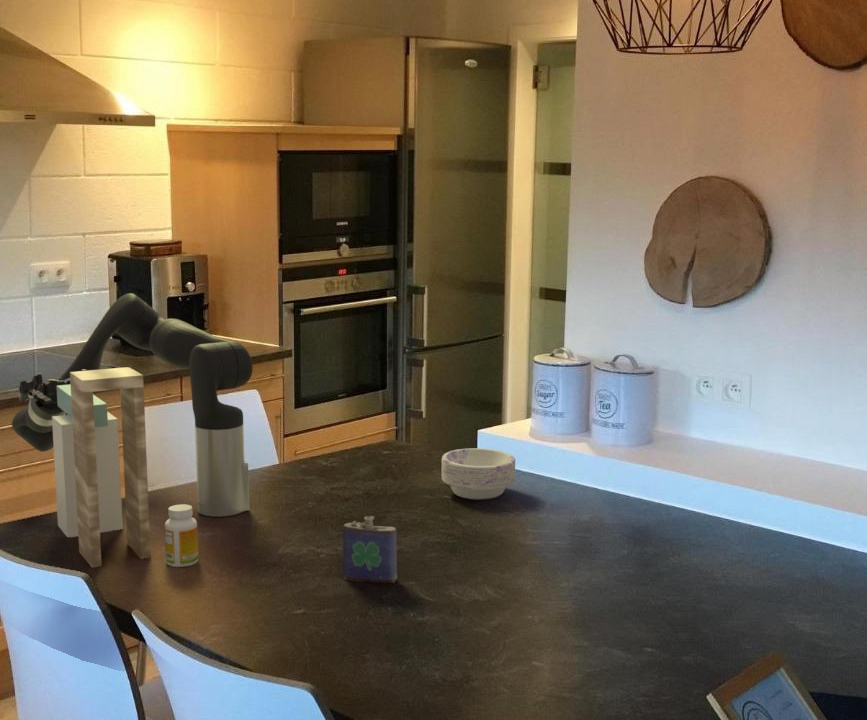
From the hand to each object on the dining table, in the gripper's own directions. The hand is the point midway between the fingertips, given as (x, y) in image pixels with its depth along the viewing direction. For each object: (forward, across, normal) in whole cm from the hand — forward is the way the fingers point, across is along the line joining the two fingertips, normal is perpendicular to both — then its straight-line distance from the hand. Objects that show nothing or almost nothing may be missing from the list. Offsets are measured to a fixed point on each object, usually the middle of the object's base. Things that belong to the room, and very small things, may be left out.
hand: (63, 375), depth 220 cm
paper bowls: (+16, +75, +39) cm, 86 cm away
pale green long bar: (+9, 0, +11) cm, 15 cm away
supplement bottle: (+24, +9, +44) cm, 51 cm away
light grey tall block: (0, 0, +31) cm, 31 cm away
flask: (+44, +33, +56) cm, 78 cm away
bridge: (+16, 0, +39) cm, 42 cm away
